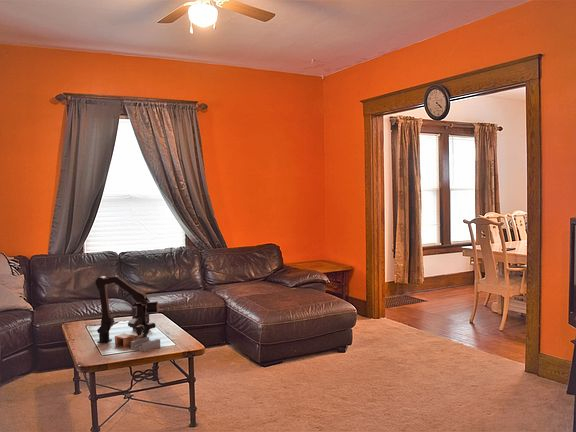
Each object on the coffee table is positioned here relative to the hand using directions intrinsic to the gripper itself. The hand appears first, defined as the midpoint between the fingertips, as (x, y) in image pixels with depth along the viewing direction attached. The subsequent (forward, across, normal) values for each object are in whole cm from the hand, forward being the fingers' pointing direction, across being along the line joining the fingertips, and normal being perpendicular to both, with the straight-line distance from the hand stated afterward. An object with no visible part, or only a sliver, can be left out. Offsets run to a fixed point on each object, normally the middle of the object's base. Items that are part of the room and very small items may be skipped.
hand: (142, 338), depth 326 cm
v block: (+1, +14, -9) cm, 17 cm away
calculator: (+2, -22, +18) cm, 29 cm away
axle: (+1, 0, -6) cm, 6 cm away
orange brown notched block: (+1, 0, -13) cm, 13 cm away
